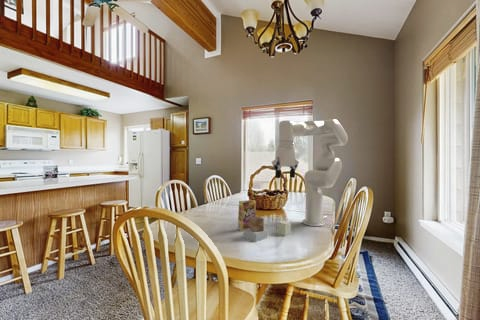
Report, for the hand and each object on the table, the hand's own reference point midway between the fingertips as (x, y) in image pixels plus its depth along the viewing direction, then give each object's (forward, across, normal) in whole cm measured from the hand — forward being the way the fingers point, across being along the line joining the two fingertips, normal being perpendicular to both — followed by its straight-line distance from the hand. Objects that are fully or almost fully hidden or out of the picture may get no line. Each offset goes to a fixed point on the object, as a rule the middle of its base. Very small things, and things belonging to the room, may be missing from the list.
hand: (285, 177), depth 120 cm
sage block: (+28, +2, +2) cm, 29 cm away
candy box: (+28, +15, -13) cm, 35 cm away
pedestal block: (+29, +18, 0) cm, 34 cm away
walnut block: (+25, +18, 0) cm, 30 cm away
